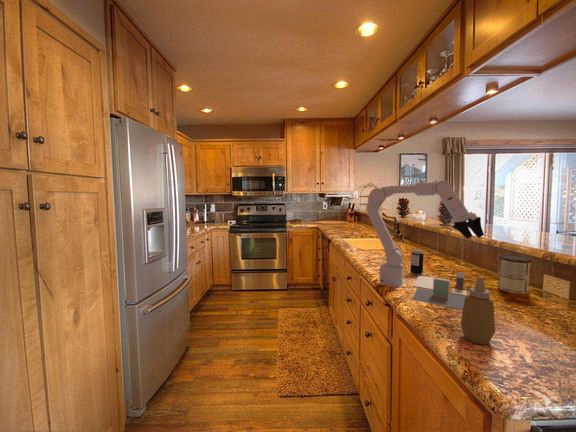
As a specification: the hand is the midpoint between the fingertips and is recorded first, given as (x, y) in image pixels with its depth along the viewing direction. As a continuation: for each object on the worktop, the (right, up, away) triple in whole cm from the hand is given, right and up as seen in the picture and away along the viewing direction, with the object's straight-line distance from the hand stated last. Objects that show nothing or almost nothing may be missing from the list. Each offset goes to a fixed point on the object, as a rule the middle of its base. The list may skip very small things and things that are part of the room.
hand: (475, 237), depth 108 cm
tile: (-14, -23, 0) cm, 27 cm away
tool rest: (-12, -23, +16) cm, 30 cm away
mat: (-15, -24, -2) cm, 28 cm away
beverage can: (-8, -21, +32) cm, 39 cm away
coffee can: (+22, -23, +9) cm, 34 cm away
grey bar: (-1, -23, +8) cm, 25 cm away
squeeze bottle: (-21, -27, -31) cm, 46 cm away
